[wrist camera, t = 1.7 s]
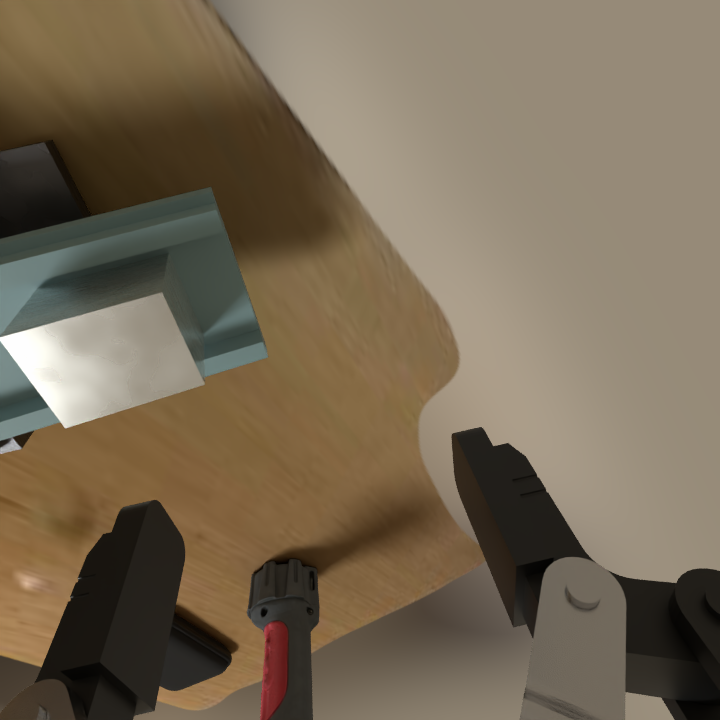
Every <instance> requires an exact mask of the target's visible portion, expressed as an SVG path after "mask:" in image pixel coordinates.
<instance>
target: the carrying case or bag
mask: <svg viewBox="0 0 720 720" xmlns="http://www.w3.org/2000/svg"><path fill="white" fill-rule="evenodd" d="M231 660H232V656H231V653H230V652H229V651H228V650H227V648H226V647H225V646H224V645H222V644H221V643H219V642H218V641H216V640H215V639H213V638H212V637H210V636H209V635H207V634H206V633H204V632H203V631H201V630H200V629H198V628H196V627H195V626H193V625H192V624H190V623H189V622H187V621H185V620H184V619H182V618H181V617H179V616H177V615H176V614H174V616H173V621H172V626H171V631H170V636H169V641H168V646H167V651H166V656H165V661H164V666H163V671H162V676H161V681H160V686H161V687H163V688H165V689H167V690H171V691H178V690H181V689H184V688H187V687H189V686H192V685H194V684H197V683H199V682H202V681H204V680H207V679H209V678H212V677H214V676H217V675H219V674H221V673H223V672H224V671H225V670H226V668H227V667H228V666H229V665H230V663H231Z"/></svg>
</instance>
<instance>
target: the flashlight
mask: <svg viewBox="0 0 720 720" xmlns="http://www.w3.org/2000/svg"><path fill="white" fill-rule="evenodd" d="M247 615H248V617H249V618H250V619H251V620H252V622H253V623H254V625H255V626H257V627H258V628H260V629H262V630H263V632H264V634H265V640H266V642H265V659H264V667H263V671H264V672H263V681H262V693H261V716H260V720H313V714H312V713H313V709H312V673H311V672H312V671H311V634H310V632H311V631H312V629H313V628H314V627H315V626H316V625H317V624H318V622H319V595H318V578H317V569H316V568H313V567H308V566H304V567H303V566H302V565H301V561H300V560H298V559H290V560H289V563H288V564H280V565H276V563H275V561H271V562H267V563H265V564H264V566H263V569H262V570H260V571H259V572H258V573H254V574H252V577H251V587H250V596H249V605H248V610H247Z"/></svg>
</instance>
